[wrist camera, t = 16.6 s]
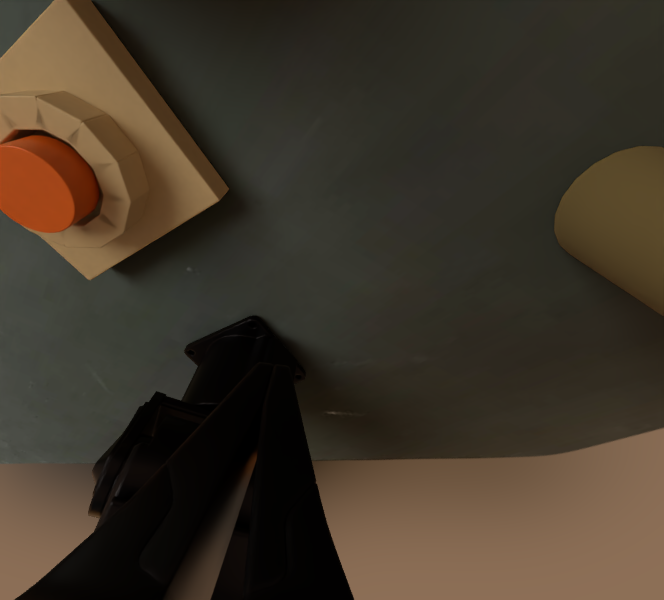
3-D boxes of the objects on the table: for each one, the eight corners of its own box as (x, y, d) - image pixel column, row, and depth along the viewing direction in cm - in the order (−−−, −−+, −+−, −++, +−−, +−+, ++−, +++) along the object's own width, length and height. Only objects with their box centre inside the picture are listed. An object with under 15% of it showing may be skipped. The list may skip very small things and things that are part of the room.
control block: (105, 266, 22) (69, 299, 19) (-40, 128, 18) (-114, 145, 15) (229, 188, 19) (207, 215, 16) (88, -4, 15) (24, -14, 12)
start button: (67, 229, 17) (41, 246, 16) (-4, 162, 16) (-40, 174, 14) (116, 194, 16) (93, 209, 15) (45, 117, 14) (11, 125, 13)
